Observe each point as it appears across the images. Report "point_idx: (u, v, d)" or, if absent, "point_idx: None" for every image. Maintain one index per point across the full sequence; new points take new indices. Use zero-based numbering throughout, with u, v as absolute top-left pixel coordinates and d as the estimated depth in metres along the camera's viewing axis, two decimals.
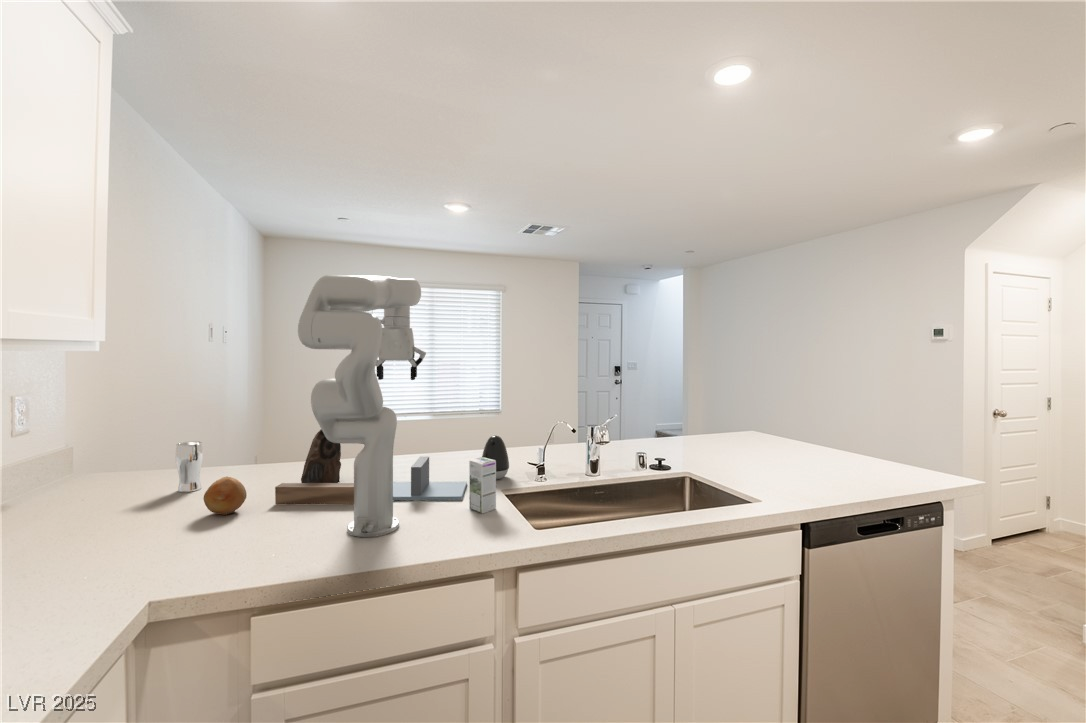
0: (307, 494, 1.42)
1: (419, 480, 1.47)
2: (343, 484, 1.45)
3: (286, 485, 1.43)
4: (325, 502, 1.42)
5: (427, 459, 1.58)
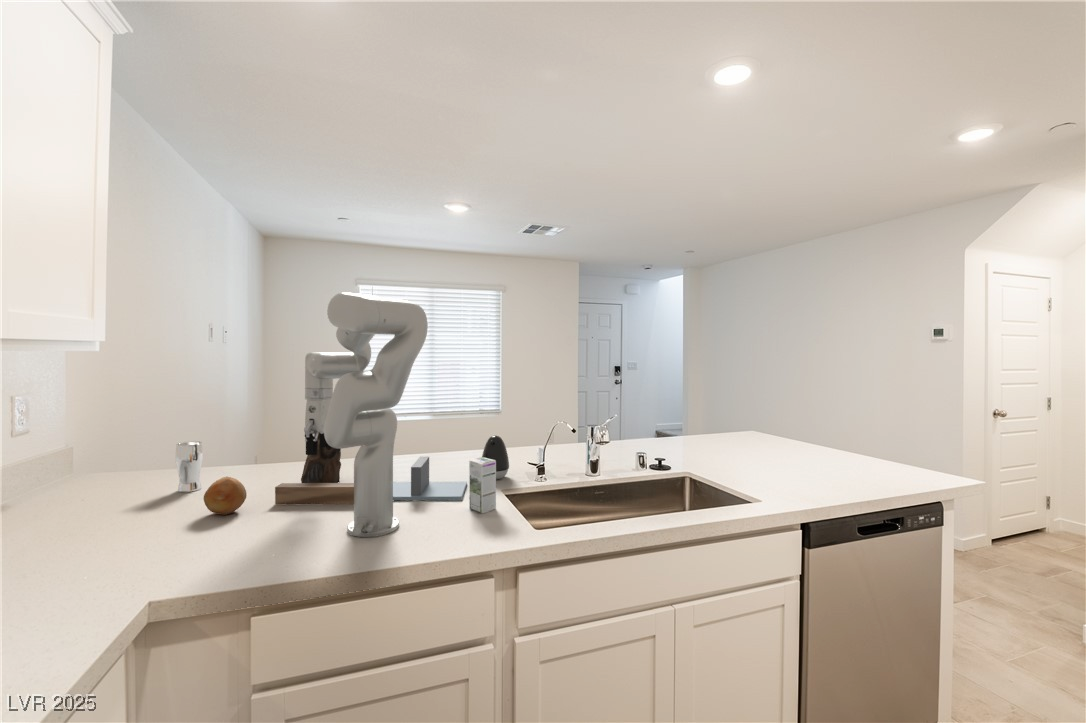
0: (307, 494, 1.42)
1: (419, 480, 1.47)
2: (343, 484, 1.45)
3: (286, 485, 1.43)
4: (325, 502, 1.42)
5: (427, 459, 1.58)
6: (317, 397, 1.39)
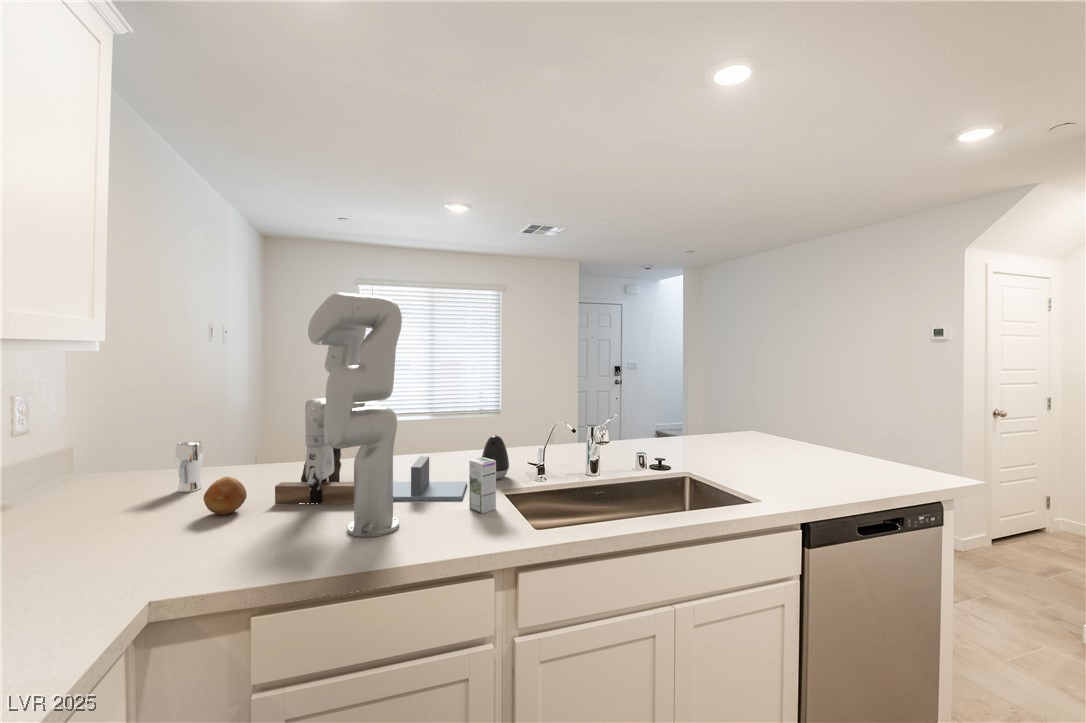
0: (307, 493, 1.42)
1: (419, 480, 1.47)
2: (343, 483, 1.45)
3: (286, 484, 1.43)
4: (325, 501, 1.42)
5: (427, 459, 1.58)
6: (317, 444, 1.40)
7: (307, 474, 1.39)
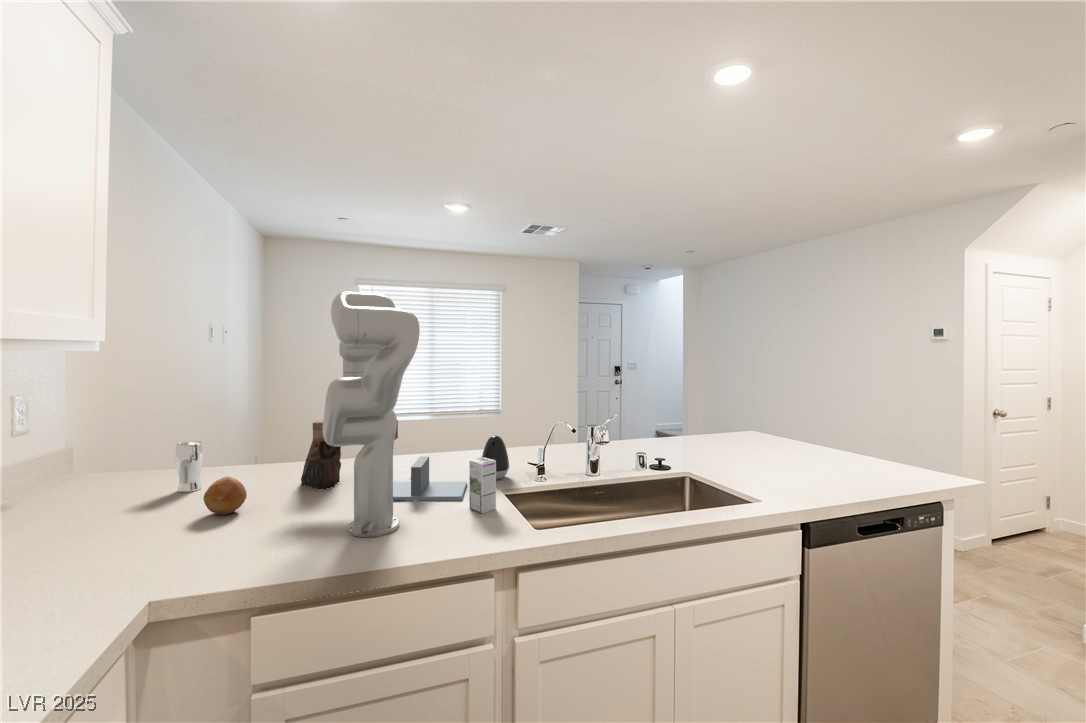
0: None
1: (419, 480, 1.47)
2: None
3: None
4: None
5: (427, 459, 1.58)
6: None
7: None
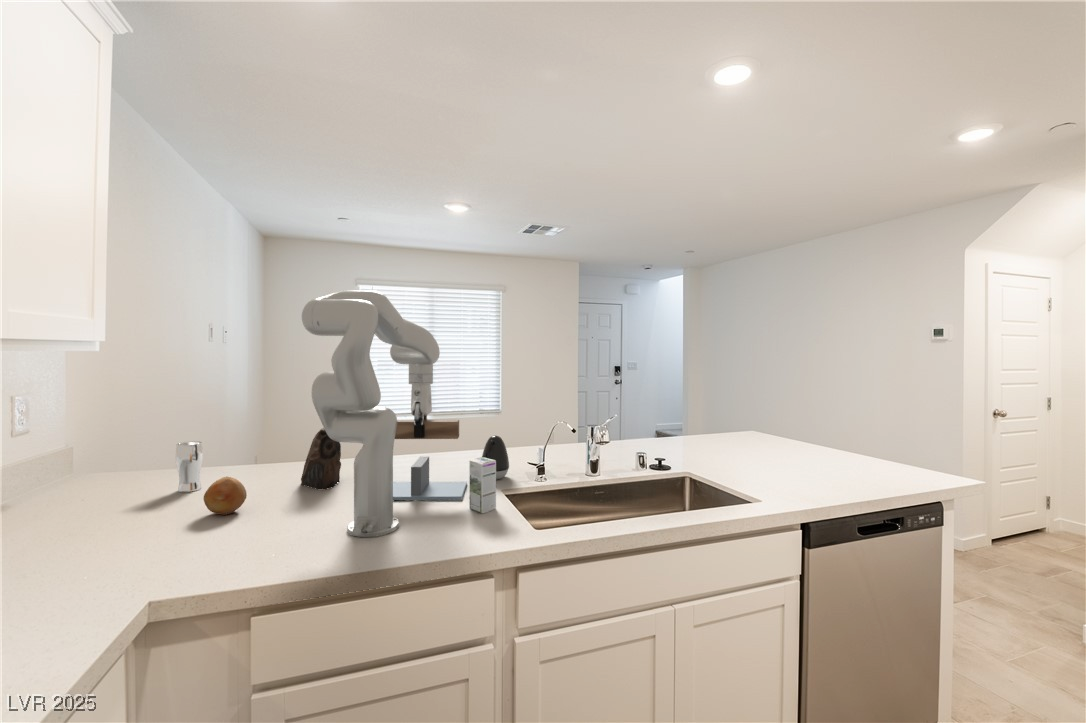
0: (410, 428, 1.52)
1: (419, 480, 1.47)
2: (442, 420, 1.55)
3: None
4: (427, 436, 1.52)
5: (427, 459, 1.58)
6: (421, 382, 1.50)
7: (413, 409, 1.48)
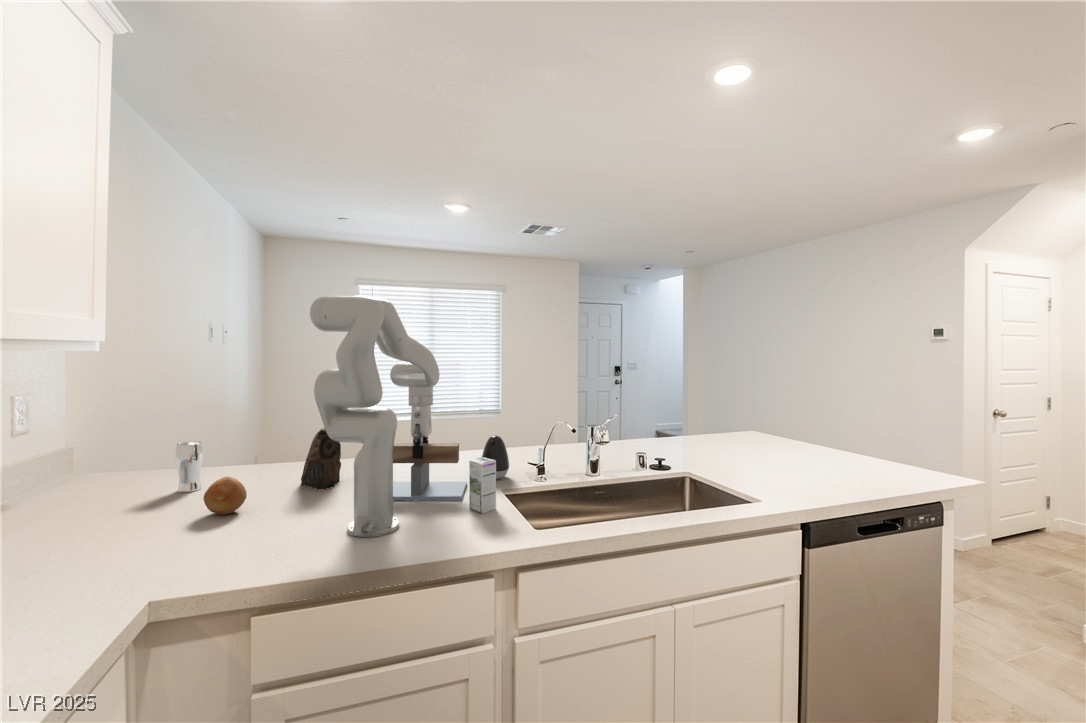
0: (410, 452, 1.52)
1: (419, 480, 1.47)
2: (442, 444, 1.55)
3: None
4: (427, 460, 1.52)
5: None
6: (421, 404, 1.50)
7: (412, 431, 1.49)
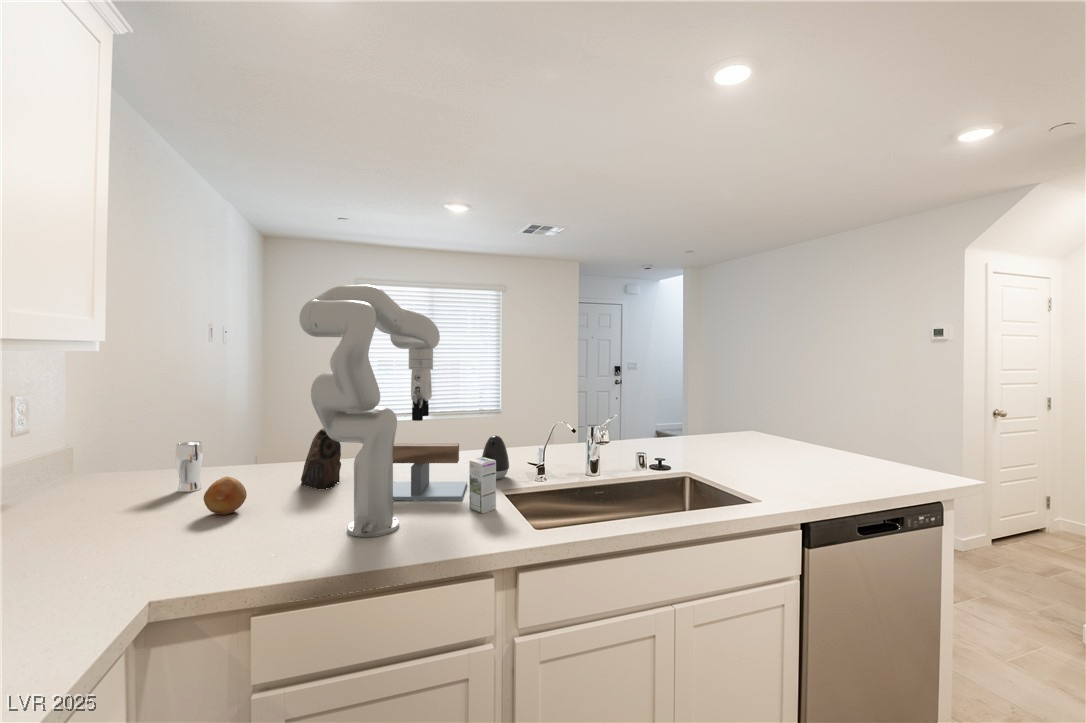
0: (410, 452, 1.52)
1: (419, 480, 1.47)
2: (442, 444, 1.55)
3: None
4: (427, 460, 1.52)
5: None
6: (421, 367, 1.49)
7: (413, 394, 1.48)
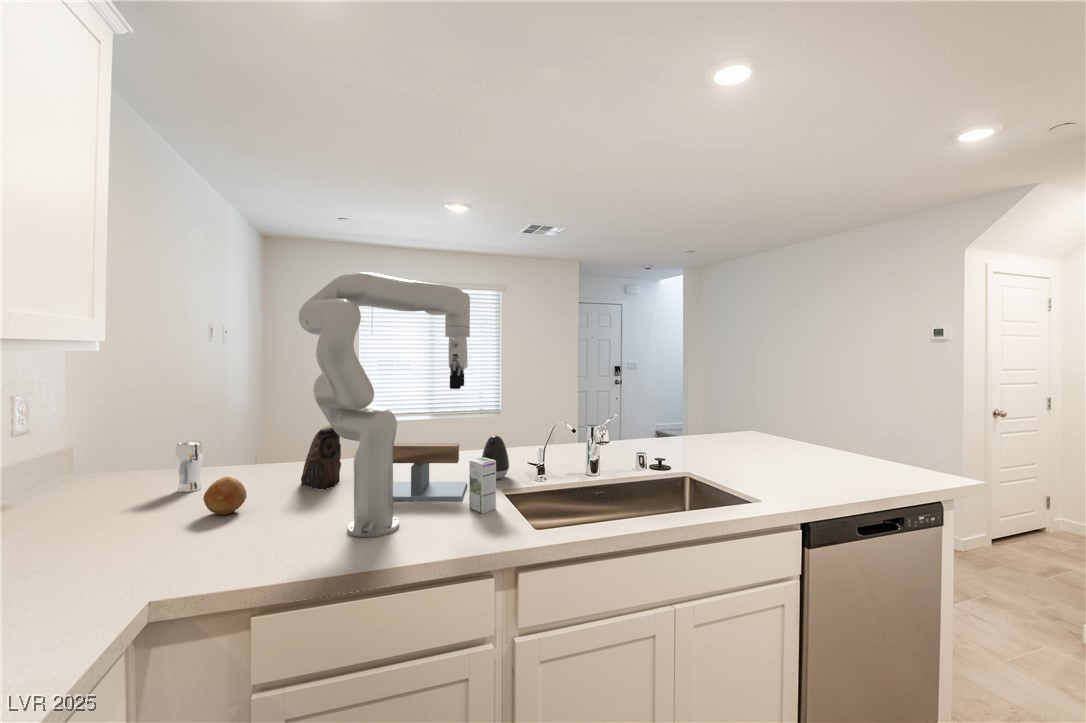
0: (410, 452, 1.52)
1: (419, 480, 1.47)
2: (442, 444, 1.55)
3: None
4: (427, 460, 1.52)
5: None
6: (459, 334, 1.46)
7: (450, 362, 1.45)
